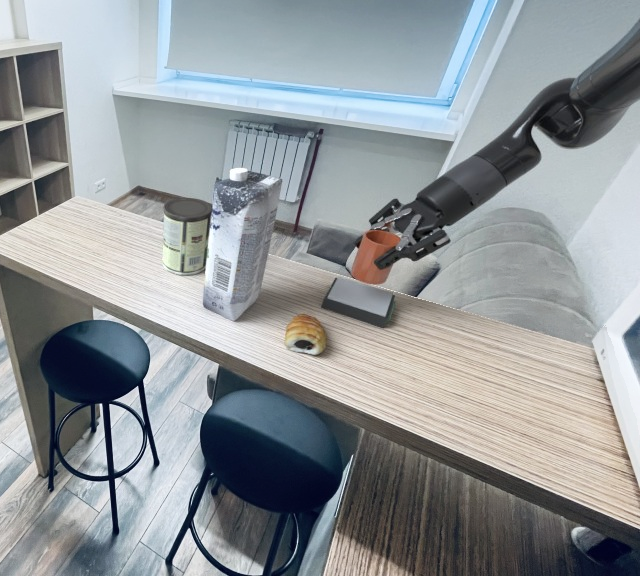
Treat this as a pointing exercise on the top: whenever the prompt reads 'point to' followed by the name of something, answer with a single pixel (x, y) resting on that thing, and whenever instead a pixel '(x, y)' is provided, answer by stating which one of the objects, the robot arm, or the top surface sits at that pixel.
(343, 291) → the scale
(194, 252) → the coffee can
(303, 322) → the pastry
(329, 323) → the top surface
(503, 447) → the top surface
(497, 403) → the top surface
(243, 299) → the juice carton
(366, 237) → the terracotta flower pot
